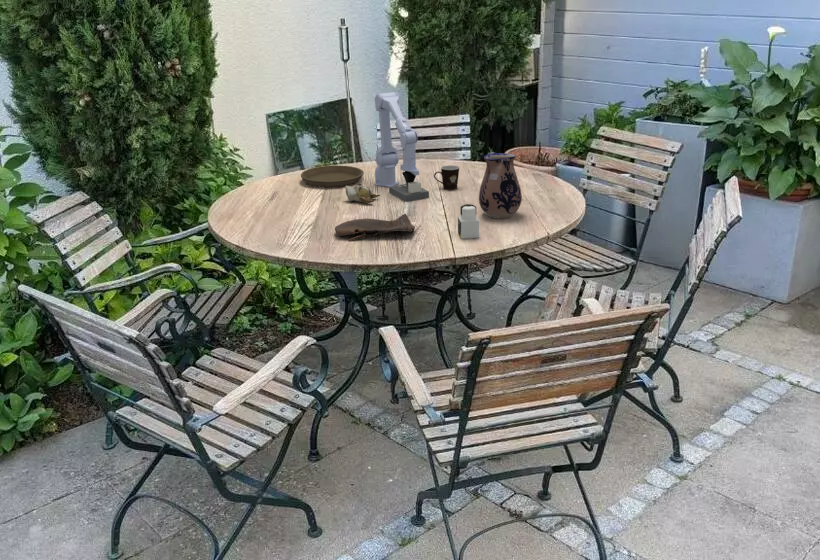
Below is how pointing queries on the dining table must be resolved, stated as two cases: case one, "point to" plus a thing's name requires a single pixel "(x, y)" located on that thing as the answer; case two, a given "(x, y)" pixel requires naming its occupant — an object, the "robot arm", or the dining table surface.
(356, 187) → the ceramic sculpture
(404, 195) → the console
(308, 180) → the plant saucer
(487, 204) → the ceramic pitcher
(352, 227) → the glove
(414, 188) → the fader
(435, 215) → the dining table surface
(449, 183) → the coffee mug
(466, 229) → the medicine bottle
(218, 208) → the dining table surface
